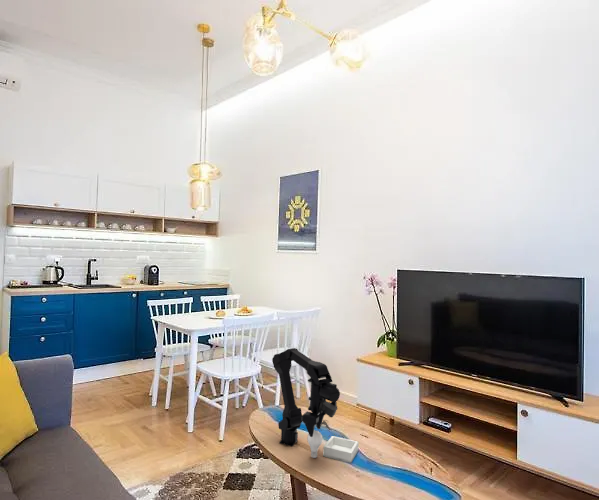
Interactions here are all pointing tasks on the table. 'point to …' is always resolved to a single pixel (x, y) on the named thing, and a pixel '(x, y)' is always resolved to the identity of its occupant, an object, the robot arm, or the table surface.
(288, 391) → the robot arm
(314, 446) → the lightbulb
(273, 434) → the table surface
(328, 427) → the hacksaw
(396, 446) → the table surface
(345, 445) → the tray
